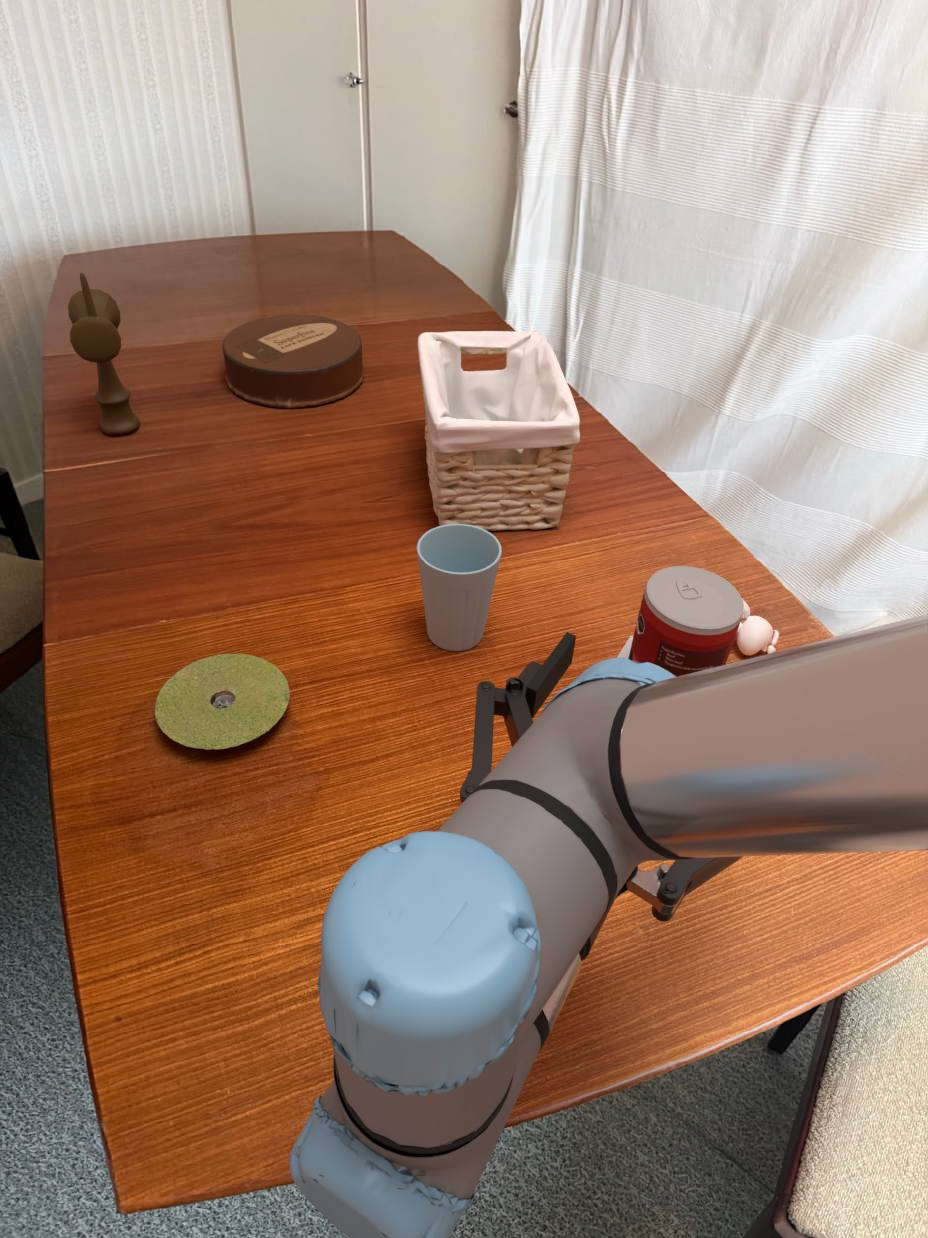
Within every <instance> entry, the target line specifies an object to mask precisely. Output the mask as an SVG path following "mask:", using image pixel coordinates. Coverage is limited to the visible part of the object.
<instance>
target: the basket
mask: <svg viewBox="0 0 928 1238" xmlns="http://www.w3.org/2000/svg"><path fill="white" fill-rule="evenodd" d="M417 351H418V362H419V363H418V365H419V370H420V371H419V372H420V378H421V386H422V398H423V402H424V414H425V415H424V422H425V426H424V441H425V446H426V454H425V455H426V457H425V459H426V466H427V477H428V479H429V480H428V481H429V488H430V492H431V497H432V498H431V499H432V502H433V503H432V505H433V511H434V514H435V515H436V516H437V518H438V519H437V520H438V525H439V526H442V525H447V524H467V525H473V526H476V527H479V528H482V529H484V530H486V531H488V532H490V531H491V532H493V531H494V532H495V531H508V530H510V531H520V530H528V529H529V530H534V531H535V530H544V529H548V528H555V527H558V526H559V524H560V521H561V517H562V513H563V508H564V506H563V503H564V500H565V499H566V495H567V490H566V489H567V487H568V484H569V482H570V472H571V469H572V462H573V453H574V450H575V447H576V445H578V444H580V442H581V432H580V424H581V419H580V413H579V411H578V409H577V404H576V401H575V399H574V396H573V393H572V390H571V388H570V386H569V384H568V382H567V380H566V377H565V375H564V372H563V370H562V367H561V365H560V362H559V359H558V357H557V355H556V353H555V351H554V349H553V347H552V346H551V344H550V343H549V341H548V340H547V338H546V337H545V336H544V335H543V334H541V332H539V331H535V330H534V331H517V330H516V331H511V330H509V331H507V330H504V331H503V330H480V331H478V330H477V331H476V330H474V331H471V330H470V331H463V330H459V331H458V330H457V331H456V330H455V331H453V330H452V331H442V332H441V331H440V332H438V331H437V332H435V331H434V332H433V331H430V332H429V331H426V332H422V333H421V334H419V335H418V338H417ZM466 354H467V355H469V354H470V355H473V356H474V355H478V354H479V355H489V356H490V355H501V354H503V355H504V354H505V356H506V357H505V358H506V359H505V360H506V365H505V367H504V368H503V369H492V370H472V371H469V370H464V369H463V368H462V355H466Z"/></svg>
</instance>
